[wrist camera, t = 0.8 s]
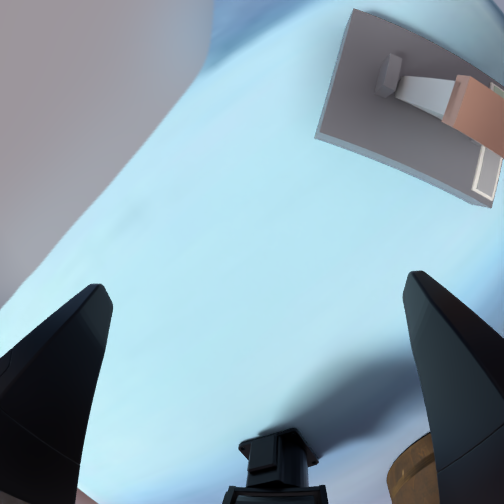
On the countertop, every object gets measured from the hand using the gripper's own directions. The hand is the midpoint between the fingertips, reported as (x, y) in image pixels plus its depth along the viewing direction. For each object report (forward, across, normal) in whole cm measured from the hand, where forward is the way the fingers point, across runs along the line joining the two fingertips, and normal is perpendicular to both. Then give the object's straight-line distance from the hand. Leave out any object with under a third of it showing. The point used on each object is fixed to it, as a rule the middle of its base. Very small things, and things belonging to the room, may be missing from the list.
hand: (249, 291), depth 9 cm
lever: (+14, -12, -3) cm, 18 cm away
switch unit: (+16, -12, -2) cm, 20 cm away
